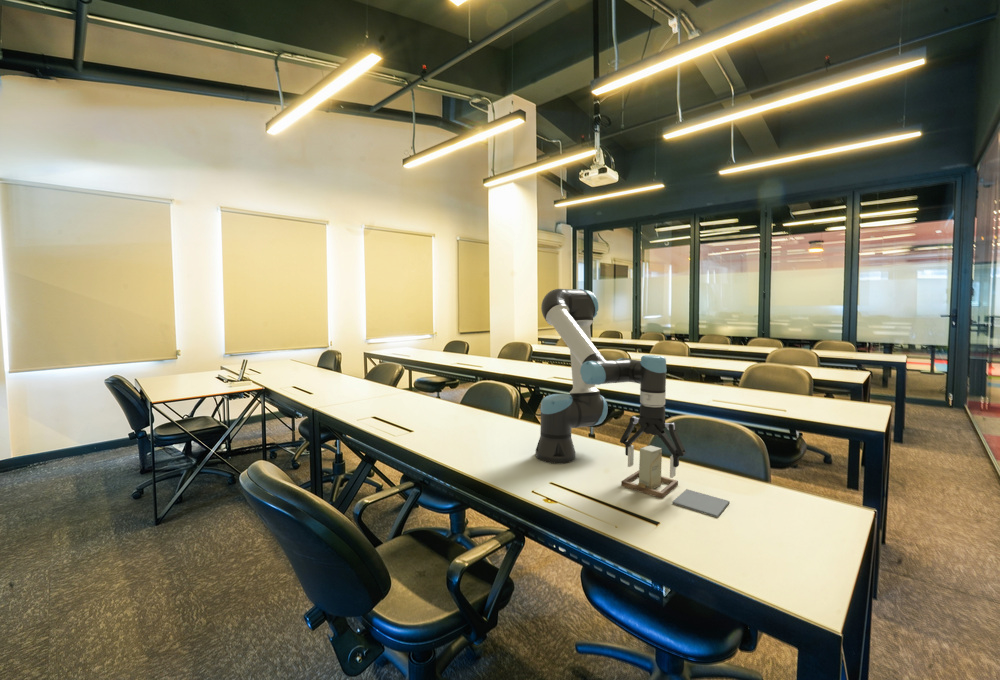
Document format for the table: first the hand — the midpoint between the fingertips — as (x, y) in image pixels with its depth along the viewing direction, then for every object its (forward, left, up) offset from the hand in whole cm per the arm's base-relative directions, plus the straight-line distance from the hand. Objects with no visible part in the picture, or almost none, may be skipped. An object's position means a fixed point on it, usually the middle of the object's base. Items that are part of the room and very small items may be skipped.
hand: (650, 471), depth 133 cm
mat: (+16, -2, -5) cm, 17 cm away
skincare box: (0, 0, -5) cm, 5 cm away
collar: (0, 0, -5) cm, 5 cm away
